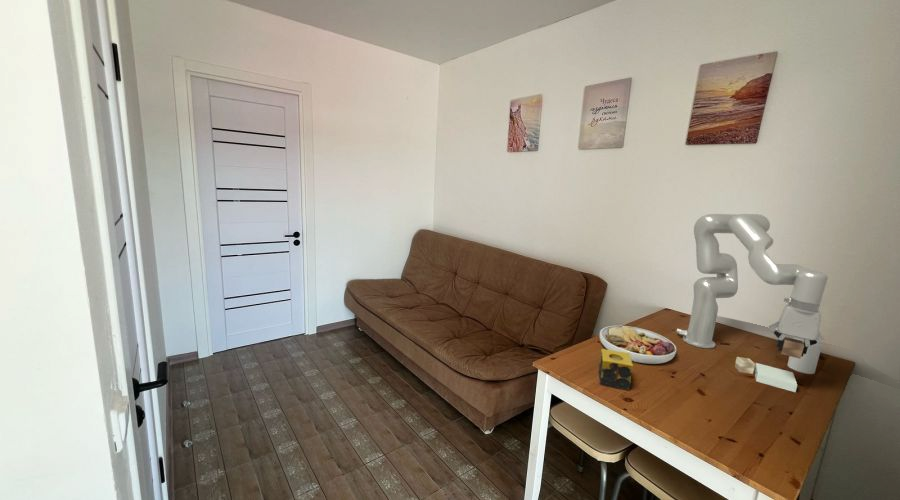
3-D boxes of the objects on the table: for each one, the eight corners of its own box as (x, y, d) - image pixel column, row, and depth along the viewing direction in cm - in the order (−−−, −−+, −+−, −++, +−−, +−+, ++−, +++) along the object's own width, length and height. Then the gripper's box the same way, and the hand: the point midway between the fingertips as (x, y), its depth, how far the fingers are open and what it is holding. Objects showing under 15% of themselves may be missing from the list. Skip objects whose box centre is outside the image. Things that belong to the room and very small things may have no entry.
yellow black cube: (626, 377, 136) (630, 353, 134) (630, 391, 127) (634, 366, 125) (597, 371, 139) (601, 347, 137) (599, 385, 130) (602, 360, 128)
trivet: (756, 381, 136) (757, 374, 136) (754, 369, 145) (755, 362, 144) (795, 392, 130) (797, 384, 129) (791, 379, 139) (792, 372, 138)
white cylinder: (820, 375, 143) (827, 347, 140) (796, 372, 144) (803, 344, 142) (804, 364, 151) (811, 338, 148) (782, 362, 152) (789, 336, 150)
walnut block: (781, 353, 129) (785, 341, 128) (780, 348, 133) (783, 336, 132) (800, 358, 126) (804, 345, 125) (798, 353, 130) (802, 340, 129)
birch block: (739, 372, 143) (741, 361, 142) (734, 366, 147) (736, 356, 146) (752, 374, 142) (755, 364, 141) (747, 368, 146) (749, 358, 145)
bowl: (589, 350, 157) (591, 333, 155) (609, 329, 179) (611, 314, 178) (667, 376, 138) (670, 357, 137) (679, 349, 161) (682, 333, 159)
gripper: (772, 301, 127) (760, 348, 132) (841, 315, 117) (825, 365, 121) (770, 296, 133) (759, 341, 137) (836, 308, 123) (821, 356, 127)
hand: (790, 351), depth 129 cm, fingers closed on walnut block, 5 cm apart
